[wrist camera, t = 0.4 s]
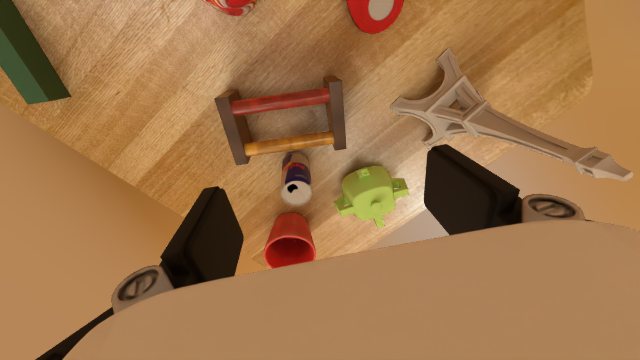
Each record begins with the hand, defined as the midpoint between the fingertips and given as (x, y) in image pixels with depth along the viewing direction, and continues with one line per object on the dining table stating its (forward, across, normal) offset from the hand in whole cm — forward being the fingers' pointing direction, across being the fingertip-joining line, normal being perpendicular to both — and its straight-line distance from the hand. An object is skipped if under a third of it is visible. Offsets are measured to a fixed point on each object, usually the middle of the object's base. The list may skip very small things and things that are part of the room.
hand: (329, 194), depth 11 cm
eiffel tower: (+36, -25, +7) cm, 44 cm away
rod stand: (+36, +4, +4) cm, 36 cm away
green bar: (+36, +39, -12) cm, 54 cm away
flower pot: (+36, +9, +30) cm, 48 cm away
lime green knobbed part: (+36, -10, +22) cm, 43 cm away
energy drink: (+36, +4, +14) cm, 39 cm away
